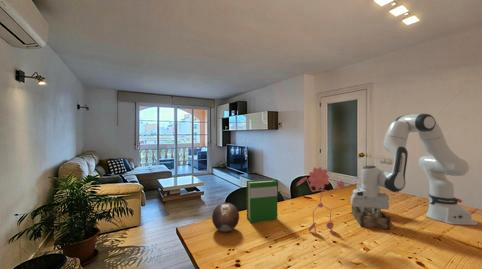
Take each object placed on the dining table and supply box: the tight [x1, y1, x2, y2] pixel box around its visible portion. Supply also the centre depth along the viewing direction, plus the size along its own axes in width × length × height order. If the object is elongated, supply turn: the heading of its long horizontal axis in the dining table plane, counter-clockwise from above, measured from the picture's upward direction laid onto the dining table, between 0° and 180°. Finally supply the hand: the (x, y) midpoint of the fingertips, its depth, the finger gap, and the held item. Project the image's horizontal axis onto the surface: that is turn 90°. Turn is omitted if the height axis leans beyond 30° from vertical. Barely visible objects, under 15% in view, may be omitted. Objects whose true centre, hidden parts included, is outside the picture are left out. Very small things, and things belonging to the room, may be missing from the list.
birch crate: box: [361, 208, 379, 218], centre depth 127 cm, size 6×12×5 cm, turn 165°
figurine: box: [295, 166, 346, 236], centre depth 117 cm, size 15×26×35 cm, turn 96°
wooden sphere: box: [211, 202, 240, 232], centre depth 116 cm, size 15×15×15 cm
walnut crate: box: [351, 205, 391, 231], centre depth 127 cm, size 15×21×7 cm
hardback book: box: [246, 178, 278, 224], centre depth 131 cm, size 18×7×24 cm, turn 105°
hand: (369, 214), depth 127 cm, fingers closed on birch crate, 6 cm apart
